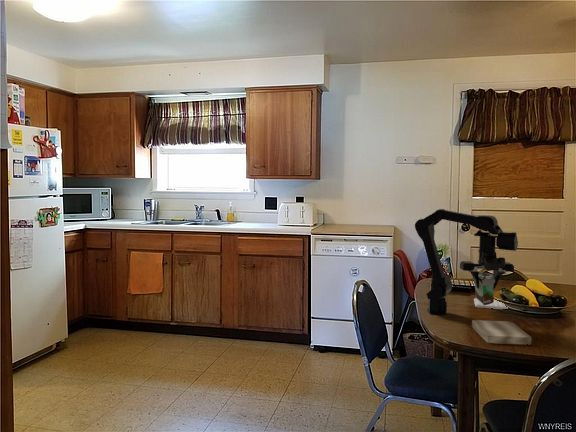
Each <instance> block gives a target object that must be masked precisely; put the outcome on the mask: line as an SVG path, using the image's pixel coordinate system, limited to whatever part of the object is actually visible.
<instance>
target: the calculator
mask: <svg viewBox="0 0 576 432" xmlns="http://www.w3.org/2000/svg"><path fill="white" fill-rule="evenodd" d="M495 299H496V298H495ZM495 299H494V302H493V303H491V304H488V305H483V304H482V303H481V302H480V301H479V300H478V299H477V298H476V297H475V298H473V303H474V306H475V308H482V309H491V308H493V310H503V309H508V307H506V306H505V304H504V303H502V302H499V301H497V300H498V299H497V300H495Z"/></svg>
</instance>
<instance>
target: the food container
mask: <svg viewBox="0 0 576 432" xmlns="http://www.w3.org/2000/svg"><path fill="white" fill-rule="evenodd" d="M478 277H479V288H477V287H476V284H475V282H474V281H473V282H474V290H475V298H477V299H478V300H479V301H480V302H481V303H482V304H483V305H488V304H491V303H493V302H494V297H495V294H494V293H495V292H494V290H495V289H494V283H495V279H494V277H493V273H488V272H479V275H478Z"/></svg>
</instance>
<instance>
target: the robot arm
mask: <svg viewBox="0 0 576 432" xmlns="http://www.w3.org/2000/svg"><path fill="white" fill-rule="evenodd" d="M443 220H445V221H448V222H449V221H450V222H453V223H459V224H465V225H470V226H471V227H473V228H476V229H478V230H477V232H475V233H474V234H473V236H474V237H479V241H478V242H479V245H478V246H479V247H478V250H477V252H478V260H477V263H475V262H472V261H469V260H468V261H467V260H466V261H465V260H464V261H462V260H461V261H460V263H459V269H460V270H461V271H464V272H465V271H467V272H469V273H470V274H471V276H472V278H473V282H475V284H476V287H477V288H479V277H478V275H479V273H480V271H479V270H478V269H481V270H483V269H485V270H486V271H488V272H491V271H492V275H493V277H494V279H495V283H494V290H495V289H496V287H497V286H498V283H499V281H500V278H501V277H502V275H504V274H507V272H508V273H514V272H515V265H514V264H512V263H511V262H509V261H506V258H505V257H497V252H496V247H497V248H498V249H499V250H502V251H511V252H512V251H513V252H516V251H518V250H517V249H518V245H519V240H518V236H517V235H518V233H517V232H515V231H514V232H508V231H506V232H505V231H503V230H502V228H501V227H500V225H499V223H498V219H497V217H496V216H494V215H486V214H483V215H479V214H478V215H475V214H469V213H462V212H457V211H453V210H448V209H444V208H439V209H436V211H434V212H433V213H431V214H429V215H427V216H426V217H424V218H420V219H418V220H417V221H416V222H415V224H414V229H415V231H416V233H417V235H418V237H419V238H420V240H421V241H422V243H423V247H424V250H425V253H426V257H427V261H428V264H429V268H430V271H431V275H432V277H431V287H432V288H431V290H429V291H428V292H426V297H427V299H428V304H427V305H428V306H427V310H426V311H427V312H428V313H429V315H447V310H448V309H447V307H448V305H447V304H448V302H447V300H446V297H447V295H448V294H449V293H450V292H451V291H452V289H453V288H452V286H453V285H454V284H453V282H452V280H451V275H450V274H448V275H446V273H445V272H444V269H443V264H442V262H441V259H440V254H439V252H438V248H437V244H436V241H435V231H436V230H435V226H436V225H438V224H439V223H440V222H441V221H443ZM475 284H474V285H475Z"/></svg>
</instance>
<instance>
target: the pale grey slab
mask: <svg viewBox="0 0 576 432" xmlns="http://www.w3.org/2000/svg"><path fill="white" fill-rule="evenodd" d="M471 327H472V329H474V330H475V332H476V333H478V335H479V336H480V337H481V338H482V339H483V340H484V341H485V342H486V343H487V344H503V345H505V344H507V345H527V344H528V345H531V346H532V336H531V335H529V334H528V333H526V332H525V331H524V330H523V329H522V328H520V327H519V326H518V325H517V324H515V323H514V322H513V321H507V320H505V321H504V320H481V319H479V320H478V319H472V320H471Z"/></svg>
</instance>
